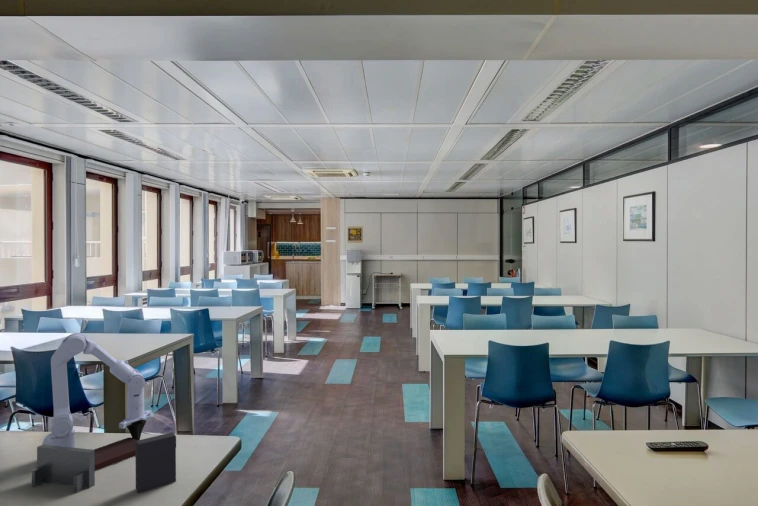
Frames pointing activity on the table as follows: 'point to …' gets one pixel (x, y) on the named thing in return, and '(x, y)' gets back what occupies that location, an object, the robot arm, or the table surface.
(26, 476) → the table surface
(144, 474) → the upright charcoal tile
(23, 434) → the table surface
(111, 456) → the book
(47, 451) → the bookend
